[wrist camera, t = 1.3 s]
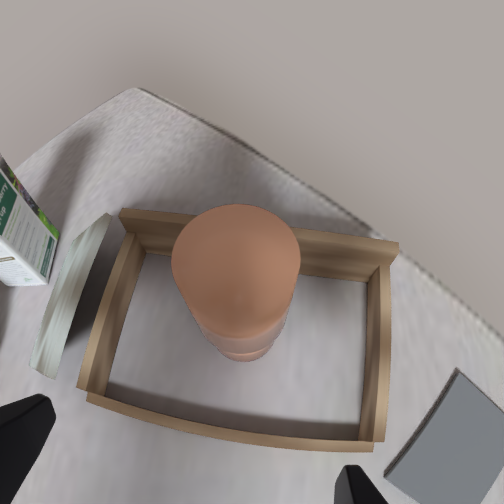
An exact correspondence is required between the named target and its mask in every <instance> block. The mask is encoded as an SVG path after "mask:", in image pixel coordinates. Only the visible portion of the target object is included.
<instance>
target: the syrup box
mask: <svg viewBox="0 0 504 504" xmlns="http://www.w3.org/2000/svg"><path fill="white" fill-rule="evenodd" d="M58 237H59V232H58V231H57V229H56V228H55V227H54V226H53V225H52V223H51V222H50V221H49V220H48V218H47V217H46V216H45V215H44V213H43V212H42V211H41V210H40V208H39V207H38V206H37V205H36V203H35V202H34V201H33V199H32V198H31V196H30V195H29V194H28V193H27V191H26V190H25V188H24V187H23V186H22V184H21V183H20V182H19V180H18V179H17V177H16V176H15V174H14V173H13V172H12V170H11V169H10V167H9V166H8V165H7V163H6V162H5V160H4V159H3V157H2V155H1V154H0V281H2V282H3V283H4V284H5V285H7V286H31V285H47V284H48V281H49V273H50V269H51V265H52V261H53V257H54V252H55V248H56V244H57V240H58Z"/></svg>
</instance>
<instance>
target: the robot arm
mask: <svg viewBox="0 0 504 504" xmlns="http://www.w3.org/2000/svg"><path fill="white" fill-rule="evenodd" d="M55 420H56V414H55V411H54V408H53V405H52V402H51V400H50V398H49V397H47V396H45V395H43V394H35V395H33V396H30V397H27V398H24V399H21V400H19V401H16V402H13V403H10V404H7V405H4V406H1V407H0V504H11V502H12V500H13V498H14V497H15V495H16V493H17V491H18V490H19V488H20V486H21V485H22V483H23V481H24V479H25V478H26V476H27V474H28V473H29V471H30V469H31V468H32V466H33V464H34V463H35V461H36V460H37V458H38V456H39V454H40V452H41V450H42V448H43V446H44V444H45V442H46V440H47V438H48V435H49V433H50V431H51V429H52V427H53V425H54V423H55ZM334 504H388V503H387V501H386V500H385V499H384V497H383V496H382V495H381V493H380V492H379V491H378V489H377V488H376V487H375V486H374V484H373V483H372V482H371V480H370V479H369V478H368V476H367V475H366V474H365V472H364V471H363V469H362V468H361V467H360V466H359V465H345V466H344V467H343V469H342V471H341V472H340V474H339V476H338V478H337V480H336V483H335V494H334Z"/></svg>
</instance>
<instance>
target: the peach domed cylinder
mask: <svg viewBox="0 0 504 504" xmlns="http://www.w3.org/2000/svg"><path fill="white" fill-rule="evenodd" d="M300 260H301V258H300V249H299V245H298V242H297V240H296V237H295V235H294V234H293V232H292V230H291V229H290V228H289V226H288V225H287V224H286V223H285V222H284V221H283V220H282V219H280V218H279V217H278V216H276V215H275V214H273V213H271V212H270V211H267V210H265V209H263V208H260V207H257V206H252V205H246V204H230V205H223V206H218V207H215V208H212V209H210V210H207V211H205V212H203V213H202V214H200V215H198V216H197V217H195V218H194V219H193V220H191V221H190V222H189V223H188V224H187V225H186V226H185V228H184V229H183V230H182V231H181V233H180V234H179V236H178V238H177V240H176V242H175V244H174V247H173V251H172V257H171V268H172V274H173V277H174V280H175V282H176V285H177V287H178V289H179V290H180V292H181V294H182V296H183V298H184V300H185V302H186V304H187V306H188V308H189V310H190V311H191V313H192V315H193V317H194V319H195V321H196V322H197V324H198V326H199V328H200V330H201V332H202V333H203V335H204V336H205V337H206V339H207V340H208V341H209V342H210V343H212V344H213V345H214V346H216V347H217V349H218V350H219V351H220V352H221V353H222V354H223V355H224V356H226V357H227V358H229V359H232V360H235V361H240V362H248V361H253V360H256V359H258V358H260V357H262V356H263V355H264V354H266V353H267V352H268V351H269V349H270V348H271V346H272V345H273V342H274V340H275V339H276V338H277V337H278V336H279V334H280V333H281V331H282V329H283V327H284V324H285V321H286V318H287V314H288V310H289V307H290V303H291V299H292V296H293V292H294V288H295V285H296V281H297V277H298V273H299V269H300Z"/></svg>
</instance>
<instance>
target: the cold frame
mask: <svg viewBox="0 0 504 504" xmlns="http://www.w3.org/2000/svg"><path fill="white" fill-rule="evenodd" d="M118 217H119V219H120V221H121V222H122V224H123V226H124V228H125V229H126V231H127V232H126V235H125V237H124V240H123V242H122V245H121V247H120V250H119V253H118V255H117V258H116V260H115V263H114V266H113V268H112V271H111V274H110V277H109V279H108V282H107V285H106V288H105V291H104V294H103V297H102V300H101V303H100V306H99V309H98V312H97V315H96V318H95V321H94V324H93V328H92V331H91V334H90V338H89V341H88V344H87V348H86V351H85V355H84V359H83V362H82V366H81V370H80V374H79V378H78V382H77V386H76V388H79V389H81V390H84V391H87V392H88V394H87V399H86V401H87V402H89V403H92V404H95V405H97V406H100V407H103V408H106V409H109V410H111V411H114V412H117V413H120V414H123V415H126V416H130V417H133V418H136V419H139V420H143V421H146V422H150V423H153V424H157V425H160V426H164V427H168V428H172V429H176V430H180V431H184V432H188V433H193V434H197V435H202V436H206V437H211V438H216V439H222V440H227V441H233V442H239V443H245V444H252V445H259V446H267V447H275V448H285V449H295V450H308V451H325V452H373V448H374V442H384V440H385V432H386V422H387V412H388V399H389V384H390V364H391V287H390V265H391V263H392V262H393V261H394V259H395V258H396V256H397V255H398V254H399V243H398V242H393V241H386V240H380V239H373V238H366V237H359V236H353V235H346V234H339V233H332V232H324V231H317V230H310V229H302V228H295V227H289V228H290V229H291V230H292V232H293V234H294V235H295V237H296V240H297V242H298V245H299V249H300V258H301V260H300V269H299V273H298V274H304V275H311V276H319V277H327V278H335V279H343V280H351V281H359V282H367V284H368V298H367V341H366V361H365V376H364V389H363V401H362V411H361V420H360V429H359V437H358V441H351V440H325V439H309V438H297V437H287V436H278V435H269V434H262V433H254V432H248V431H241V430H235V429H229V428H224V427H218V426H213V425H208V424H203V423H198V422H194V421H189V420H185V419H181V418H177V417H173V416H169V415H165V414H161V413H157V412H153V411H150V410H146V409H143V408H139V407H136V406H133V405H129V404H126V403H123V402H120V401H117V400H114V399H111V398H108V397H105V392H106V387H107V383H108V379H109V375H110V371H111V367H112V363H113V359H114V356H115V352H116V348H117V344H118V341H119V337H120V334H121V330H122V327H123V323H124V320H125V317H126V313H127V310H128V307H129V303H130V300H131V297H132V294H133V291H134V288H135V285H136V281H137V278H138V275H139V272H140V270H141V267H142V264H143V261H144V258H145V255H146V253H152V254H159V255H166V256H172V251H173V247H174V244H175V242H176V240H177V238H178V236H179V234H180V233H181V231H182V230H183V229H184V228H185V226H186V225H187V224H188V223H189V222H190V221H191V220H193V219H194V218H195V217H197V216H196V215H187V214H178V213H168V212H159V211H149V210H139V209H128V208H122V209H121V212H120V214H119V216H118ZM111 219H112V216H111V215H109V214H108V213H105V214H104V215H103V216H101V217H100V218H99V219H98V220H97V221H95V222H94V223H93V224H92V225H91V226H90V227H88V228H87V229H86V230H85V231H84V232H83V233H81V234H80V235H79V236H78V237H77V238H76V239H75V240H74V241H73V243H72V245H71V248H70V250H69V252H68V254H67V257H66V259H65V261H64V264H63V266H62V269H61V271H60V274H59V276H58V279H57V281H56V284H55V286H54V289H53V292H52V294H51V297H50V300H49V302H48V305H47V308H46V311H45V314H44V317H43V320H42V323H41V326H40V329H39V332H38V335H37V339H36V342H35V345H34V349H33V352H32V356H31V359H30V363H29V366H30V367H32V368H33V369H35V370H37V371H38V372H40V373H41V374H43V375H45V376H46V377H49V378H51V379H54V380H55V378H56V374H57V371H58V367H59V363H60V359H61V356H62V352H63V349H64V345H65V342H66V339H67V335H68V332H69V329H70V326H71V323H72V319H73V316H74V313H75V310H76V307H77V305H78V302H79V299H80V296H81V293H82V290H83V288H84V285H85V282H86V280H87V277H88V274H89V272H90V269H91V266H92V264H93V261H94V259H95V256H96V254H97V252H98V249H99V247H100V244H101V242H102V240H103V237H104V235H105V233H106V230H107V228H108V226H109V224H110V221H111Z"/></svg>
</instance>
